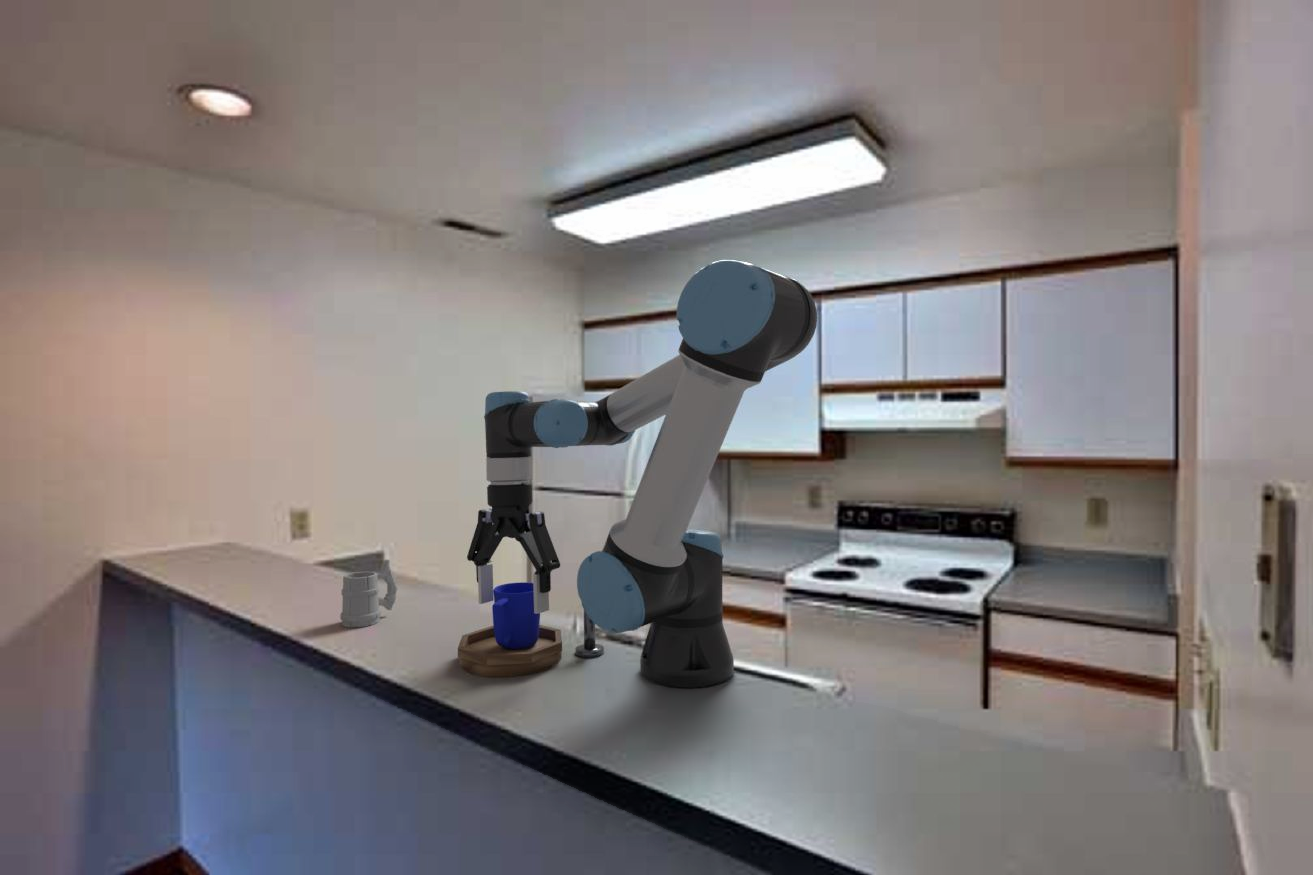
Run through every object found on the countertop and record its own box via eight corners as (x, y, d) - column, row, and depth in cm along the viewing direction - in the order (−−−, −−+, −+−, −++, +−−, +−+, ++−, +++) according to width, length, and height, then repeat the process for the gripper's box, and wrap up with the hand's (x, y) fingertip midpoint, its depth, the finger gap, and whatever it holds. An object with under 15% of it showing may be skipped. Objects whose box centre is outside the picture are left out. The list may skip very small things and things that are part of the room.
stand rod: (609, 651, 122) (609, 603, 122) (591, 659, 118) (590, 610, 118) (588, 646, 125) (587, 600, 125) (569, 653, 121) (569, 606, 120)
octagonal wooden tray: (581, 654, 120) (581, 634, 120) (508, 684, 106) (508, 662, 106) (514, 637, 130) (513, 619, 130) (438, 663, 116) (438, 642, 116)
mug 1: (332, 623, 140) (331, 565, 140) (386, 611, 149) (385, 556, 149) (352, 630, 135) (351, 569, 135) (406, 616, 145) (405, 560, 145)
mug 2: (473, 658, 113) (472, 597, 112) (507, 636, 124) (507, 581, 124) (519, 662, 111) (518, 600, 110) (549, 639, 122) (549, 583, 122)
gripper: (579, 482, 113) (582, 610, 114) (478, 479, 128) (481, 594, 128) (546, 485, 107) (550, 621, 107) (444, 482, 122) (448, 602, 122)
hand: (513, 606), depth 118 cm, fingers open, 13 cm apart
